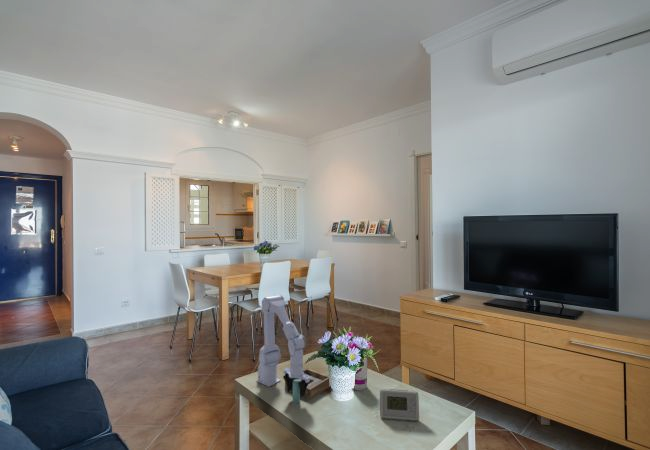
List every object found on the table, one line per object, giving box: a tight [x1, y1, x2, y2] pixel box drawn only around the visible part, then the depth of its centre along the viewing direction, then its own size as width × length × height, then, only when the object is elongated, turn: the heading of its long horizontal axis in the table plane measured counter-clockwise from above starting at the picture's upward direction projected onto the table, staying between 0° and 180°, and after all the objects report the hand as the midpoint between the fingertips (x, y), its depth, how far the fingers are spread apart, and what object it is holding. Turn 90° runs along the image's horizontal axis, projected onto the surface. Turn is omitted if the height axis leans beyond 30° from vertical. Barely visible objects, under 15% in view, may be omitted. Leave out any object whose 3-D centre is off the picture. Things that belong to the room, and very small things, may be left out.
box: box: [284, 367, 330, 400], centre depth 165 cm, size 16×16×4 cm
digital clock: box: [379, 388, 420, 422], centre depth 141 cm, size 16×9×11 cm, turn 72°
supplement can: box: [353, 357, 368, 391], centre depth 166 cm, size 8×8×15 cm
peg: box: [292, 380, 301, 404], centre depth 153 cm, size 3×3×9 cm
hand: (296, 393), depth 153 cm, fingers open, 7 cm apart
